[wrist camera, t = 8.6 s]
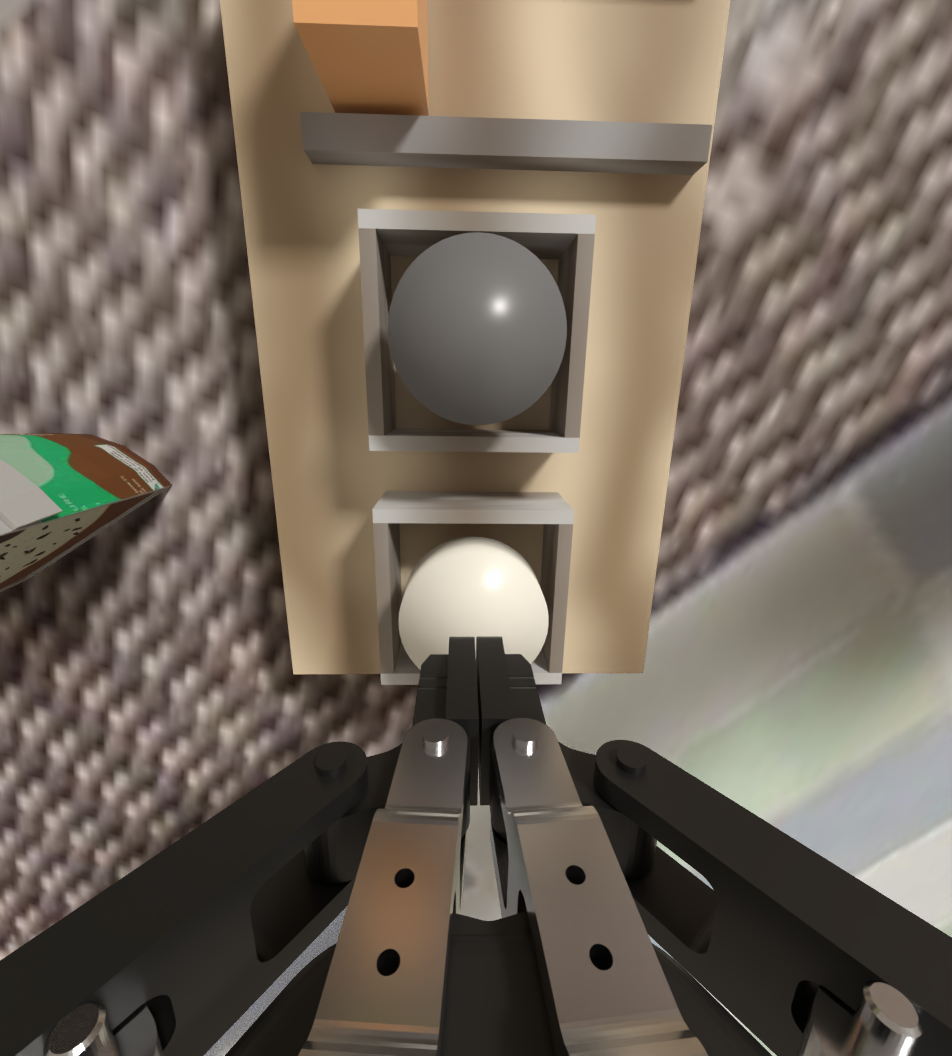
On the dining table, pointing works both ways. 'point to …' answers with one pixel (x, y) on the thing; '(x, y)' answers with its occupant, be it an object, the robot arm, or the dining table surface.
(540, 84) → the board
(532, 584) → the cream button
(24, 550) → the food container
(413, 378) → the charcoal button
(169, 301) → the dining table surface
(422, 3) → the slider knob
